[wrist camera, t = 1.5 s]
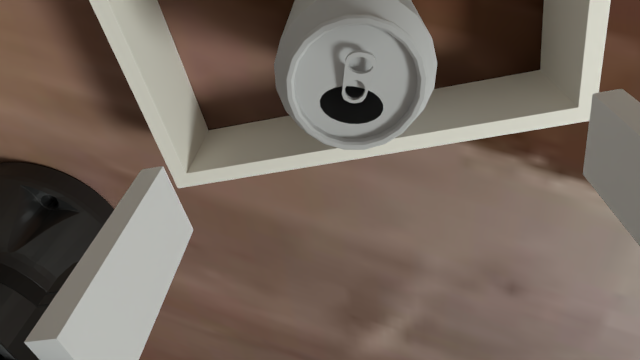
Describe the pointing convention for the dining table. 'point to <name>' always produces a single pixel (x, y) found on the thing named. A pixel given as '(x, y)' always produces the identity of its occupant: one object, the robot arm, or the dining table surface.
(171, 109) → the white rectangular frame
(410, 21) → the can
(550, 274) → the dining table surface
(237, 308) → the dining table surface
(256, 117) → the dining table surface
